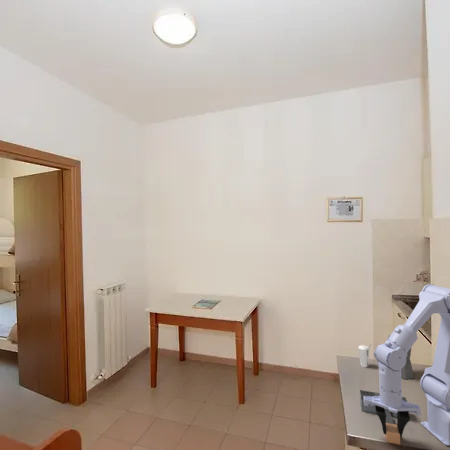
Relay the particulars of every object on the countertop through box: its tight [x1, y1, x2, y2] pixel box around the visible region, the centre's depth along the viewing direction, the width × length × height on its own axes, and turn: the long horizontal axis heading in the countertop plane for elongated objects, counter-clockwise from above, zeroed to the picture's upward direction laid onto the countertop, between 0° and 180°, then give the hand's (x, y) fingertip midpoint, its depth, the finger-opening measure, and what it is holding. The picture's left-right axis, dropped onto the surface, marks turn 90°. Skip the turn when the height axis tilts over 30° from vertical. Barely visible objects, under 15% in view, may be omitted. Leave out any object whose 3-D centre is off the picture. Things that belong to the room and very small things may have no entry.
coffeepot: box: [387, 334, 414, 380], centre depth 120 cm, size 15×9×18 cm, turn 121°
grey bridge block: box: [359, 389, 408, 418], centre depth 95 cm, size 4×14×5 cm, turn 70°
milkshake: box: [357, 344, 372, 369], centre depth 127 cm, size 4×5×10 cm
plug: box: [384, 408, 401, 446], centre depth 86 cm, size 12×3×3 cm, turn 160°
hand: (391, 433), depth 82 cm, fingers closed on plug, 3 cm apart
